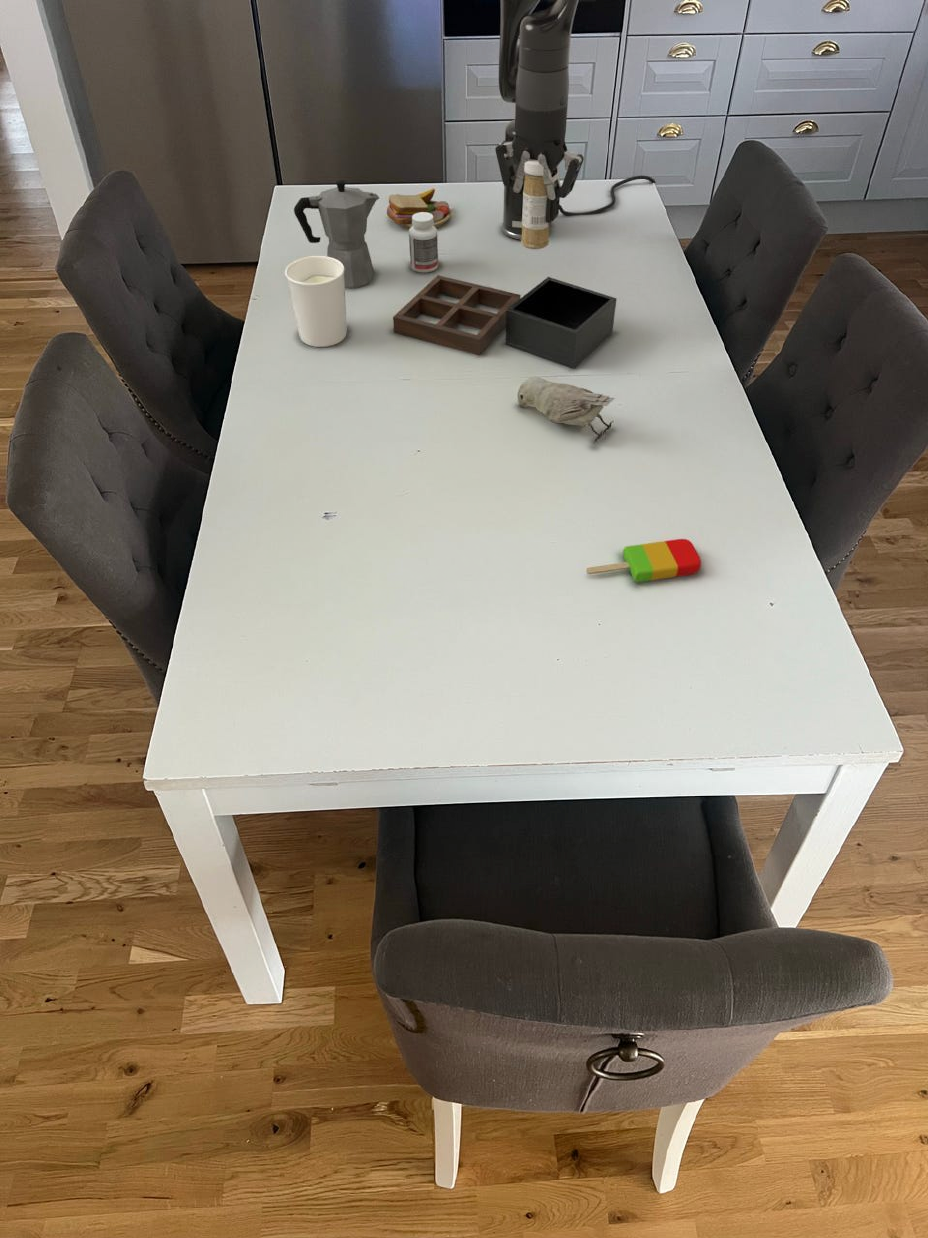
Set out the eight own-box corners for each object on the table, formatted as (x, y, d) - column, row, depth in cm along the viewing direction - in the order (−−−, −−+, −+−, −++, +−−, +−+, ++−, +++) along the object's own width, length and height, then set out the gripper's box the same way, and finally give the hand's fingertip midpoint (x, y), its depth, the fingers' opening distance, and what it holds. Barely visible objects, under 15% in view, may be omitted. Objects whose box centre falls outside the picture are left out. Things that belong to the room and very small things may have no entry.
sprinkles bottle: (550, 238, 149) (555, 151, 139) (546, 251, 146) (552, 163, 136) (522, 236, 150) (526, 149, 140) (518, 249, 147) (521, 161, 137)
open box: (546, 311, 166) (548, 276, 162) (612, 333, 161) (616, 298, 156) (505, 344, 159) (506, 309, 154) (573, 368, 154) (576, 333, 149)
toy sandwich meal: (456, 228, 189) (456, 205, 185) (391, 235, 187) (390, 211, 184) (445, 202, 197) (444, 180, 194) (382, 208, 195) (381, 186, 192)
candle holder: (284, 343, 160) (273, 277, 151) (311, 315, 166) (302, 251, 157) (335, 354, 157) (327, 288, 148) (360, 326, 163) (354, 261, 154)
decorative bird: (528, 397, 148) (530, 356, 142) (616, 432, 142) (622, 391, 136) (509, 414, 145) (511, 373, 140) (598, 450, 139) (604, 408, 133)
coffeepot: (380, 261, 179) (373, 166, 166) (388, 284, 173) (381, 187, 160) (301, 270, 177) (287, 174, 164) (306, 294, 171) (292, 196, 158)
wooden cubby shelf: (438, 289, 172) (437, 274, 170) (520, 310, 167) (520, 294, 164) (393, 332, 162) (392, 316, 160) (479, 355, 157) (479, 339, 154)
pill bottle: (444, 266, 178) (442, 216, 171) (423, 276, 175) (421, 225, 168) (425, 257, 181) (423, 207, 173) (404, 266, 178) (401, 216, 171)
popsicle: (702, 574, 121) (705, 563, 119) (592, 591, 119) (593, 580, 117) (687, 546, 124) (689, 535, 123) (580, 562, 122) (581, 551, 121)
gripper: (597, 98, 132) (586, 217, 145) (508, 83, 137) (505, 199, 149) (577, 116, 128) (568, 236, 140) (485, 99, 132) (484, 218, 145)
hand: (535, 217), depth 145 cm, fingers closed on sprinkles bottle, 4 cm apart
